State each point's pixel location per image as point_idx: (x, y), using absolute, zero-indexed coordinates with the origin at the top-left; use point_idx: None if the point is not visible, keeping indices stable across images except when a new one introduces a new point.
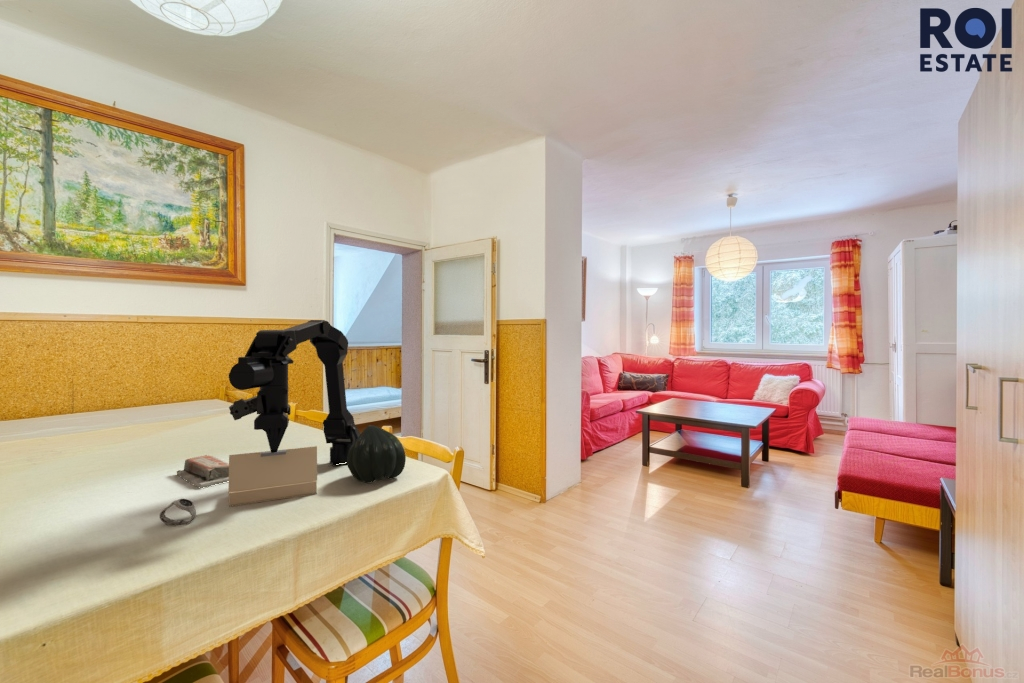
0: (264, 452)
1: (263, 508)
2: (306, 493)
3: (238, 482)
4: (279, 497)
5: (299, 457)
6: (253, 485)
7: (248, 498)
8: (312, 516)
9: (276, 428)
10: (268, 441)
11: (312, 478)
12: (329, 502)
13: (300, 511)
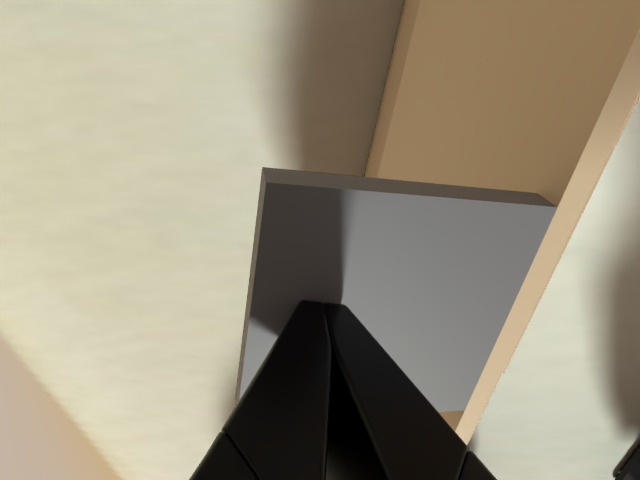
0: (447, 227)
1: (271, 75)
2: None
3: None
4: (367, 169)
5: None
6: (419, 42)
7: (410, 1)
8: (43, 263)
9: None
10: (237, 407)
11: None
12: (187, 339)
13: (131, 229)
